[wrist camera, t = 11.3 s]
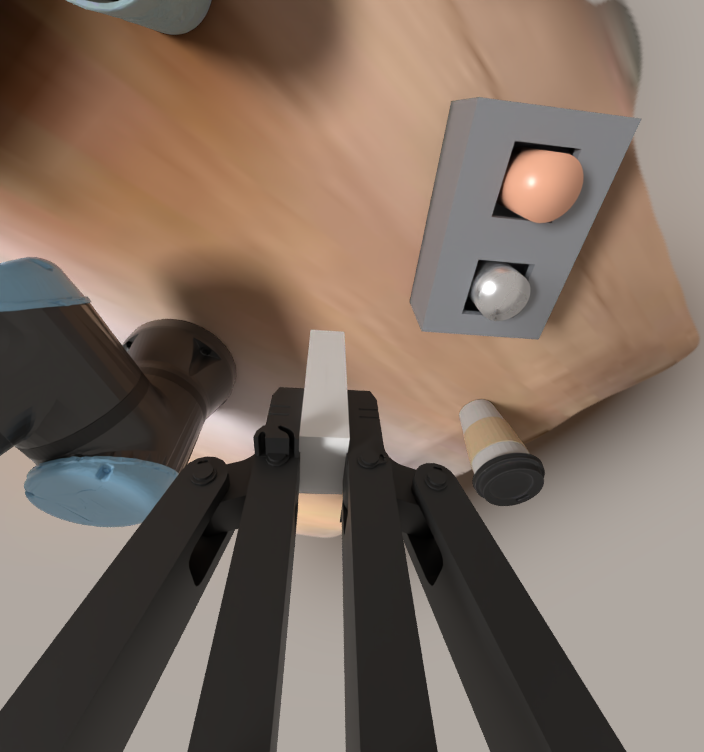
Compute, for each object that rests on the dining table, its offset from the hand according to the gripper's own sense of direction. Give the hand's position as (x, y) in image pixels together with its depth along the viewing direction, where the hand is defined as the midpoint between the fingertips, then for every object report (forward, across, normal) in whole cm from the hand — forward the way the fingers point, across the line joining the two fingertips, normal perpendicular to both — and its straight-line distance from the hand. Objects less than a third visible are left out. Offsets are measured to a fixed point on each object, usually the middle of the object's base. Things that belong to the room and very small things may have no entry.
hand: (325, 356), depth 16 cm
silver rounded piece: (+26, -18, +4) cm, 32 cm away
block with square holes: (+29, -18, -1) cm, 34 cm away
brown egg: (+25, -18, -6) cm, 32 cm away
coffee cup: (+29, -26, +28) cm, 48 cm away
